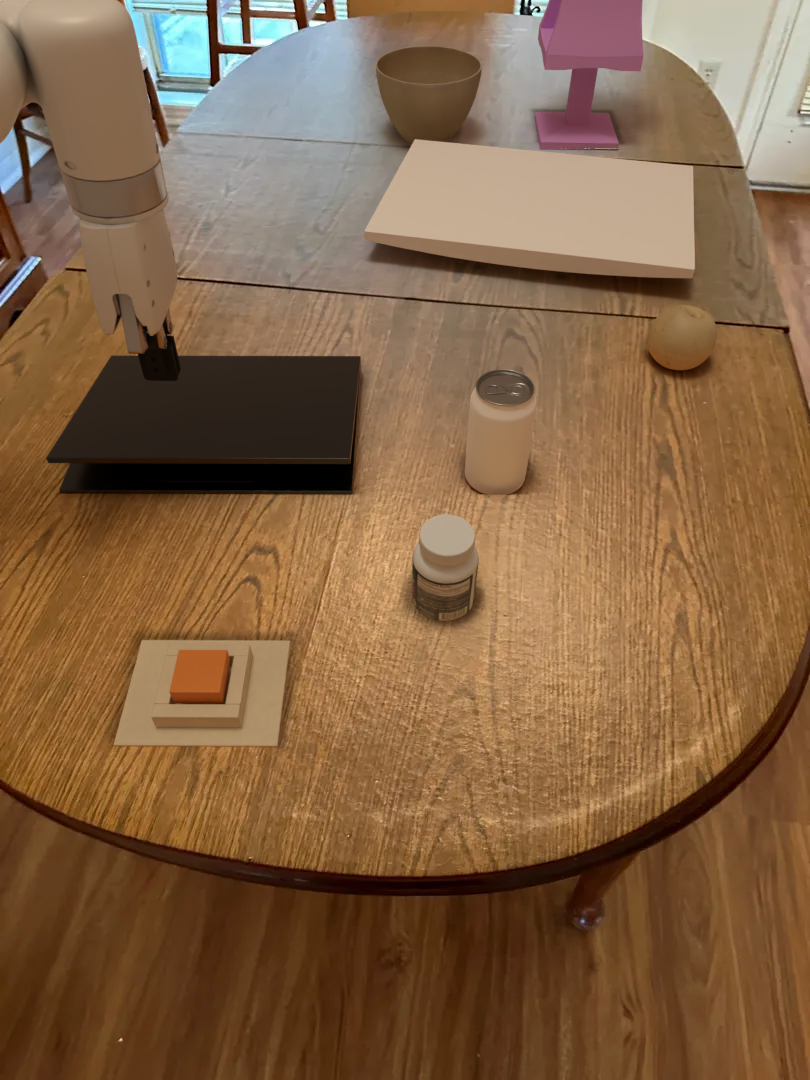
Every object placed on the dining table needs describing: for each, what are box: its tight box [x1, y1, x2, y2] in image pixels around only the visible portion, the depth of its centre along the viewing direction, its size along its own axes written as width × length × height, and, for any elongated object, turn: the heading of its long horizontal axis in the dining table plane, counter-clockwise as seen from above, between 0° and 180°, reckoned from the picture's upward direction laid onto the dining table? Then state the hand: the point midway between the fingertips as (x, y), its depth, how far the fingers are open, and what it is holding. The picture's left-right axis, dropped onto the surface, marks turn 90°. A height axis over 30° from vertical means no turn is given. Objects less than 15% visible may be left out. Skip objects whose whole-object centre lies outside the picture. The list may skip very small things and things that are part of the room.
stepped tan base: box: [113, 639, 291, 748], centre depth 65 cm, size 13×10×3 cm
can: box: [464, 368, 537, 496], centre depth 80 cm, size 6×6×12 cm
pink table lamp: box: [534, 0, 644, 150], centre depth 130 cm, size 16×16×35 cm
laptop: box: [58, 363, 363, 496], centre depth 88 cm, size 22×30×2 cm
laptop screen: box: [45, 355, 362, 464], centre depth 86 cm, size 22×30×1 cm
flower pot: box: [375, 45, 483, 145], centre depth 138 cm, size 18×18×12 cm
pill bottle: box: [411, 513, 480, 622], centre depth 69 cm, size 6×6×10 cm
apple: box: [646, 303, 718, 371], centre depth 95 cm, size 8×8×8 cm
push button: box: [169, 650, 231, 703], centre depth 64 cm, size 4×4×2 cm
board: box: [363, 139, 696, 279], centre depth 119 cm, size 45×32×5 cm
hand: (163, 375), depth 75 cm, fingers closed
